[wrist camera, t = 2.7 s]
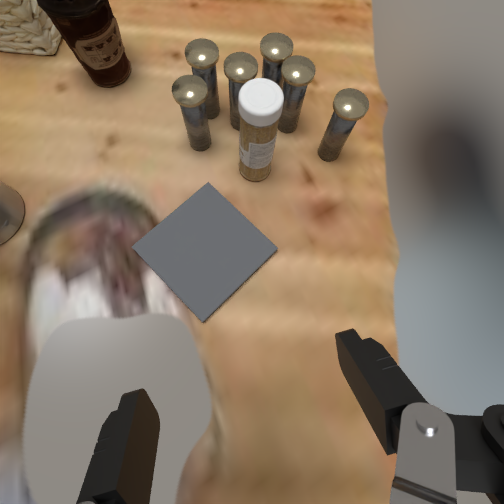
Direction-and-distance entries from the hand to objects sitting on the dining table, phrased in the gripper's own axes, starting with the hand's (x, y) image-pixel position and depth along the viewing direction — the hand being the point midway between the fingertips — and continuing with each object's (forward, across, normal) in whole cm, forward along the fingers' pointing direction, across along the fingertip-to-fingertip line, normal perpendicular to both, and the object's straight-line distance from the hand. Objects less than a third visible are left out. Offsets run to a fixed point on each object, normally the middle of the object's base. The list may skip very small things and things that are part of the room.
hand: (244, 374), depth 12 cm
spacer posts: (+37, -8, -5) cm, 38 cm away
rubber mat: (+27, +3, +6) cm, 28 cm away
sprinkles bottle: (+34, -6, -2) cm, 35 cm away
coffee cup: (+47, +11, -19) cm, 52 cm away
